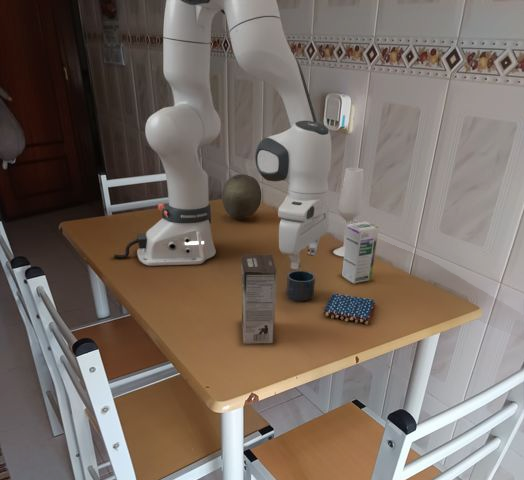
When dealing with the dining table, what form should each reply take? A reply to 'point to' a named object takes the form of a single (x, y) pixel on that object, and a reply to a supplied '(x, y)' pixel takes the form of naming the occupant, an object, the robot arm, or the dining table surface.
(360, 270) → the syrup box
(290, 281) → the cup
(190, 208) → the robot arm
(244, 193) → the cantaloupe
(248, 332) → the coffee box
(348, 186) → the champagne flute
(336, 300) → the woven mat
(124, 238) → the dining table surface
